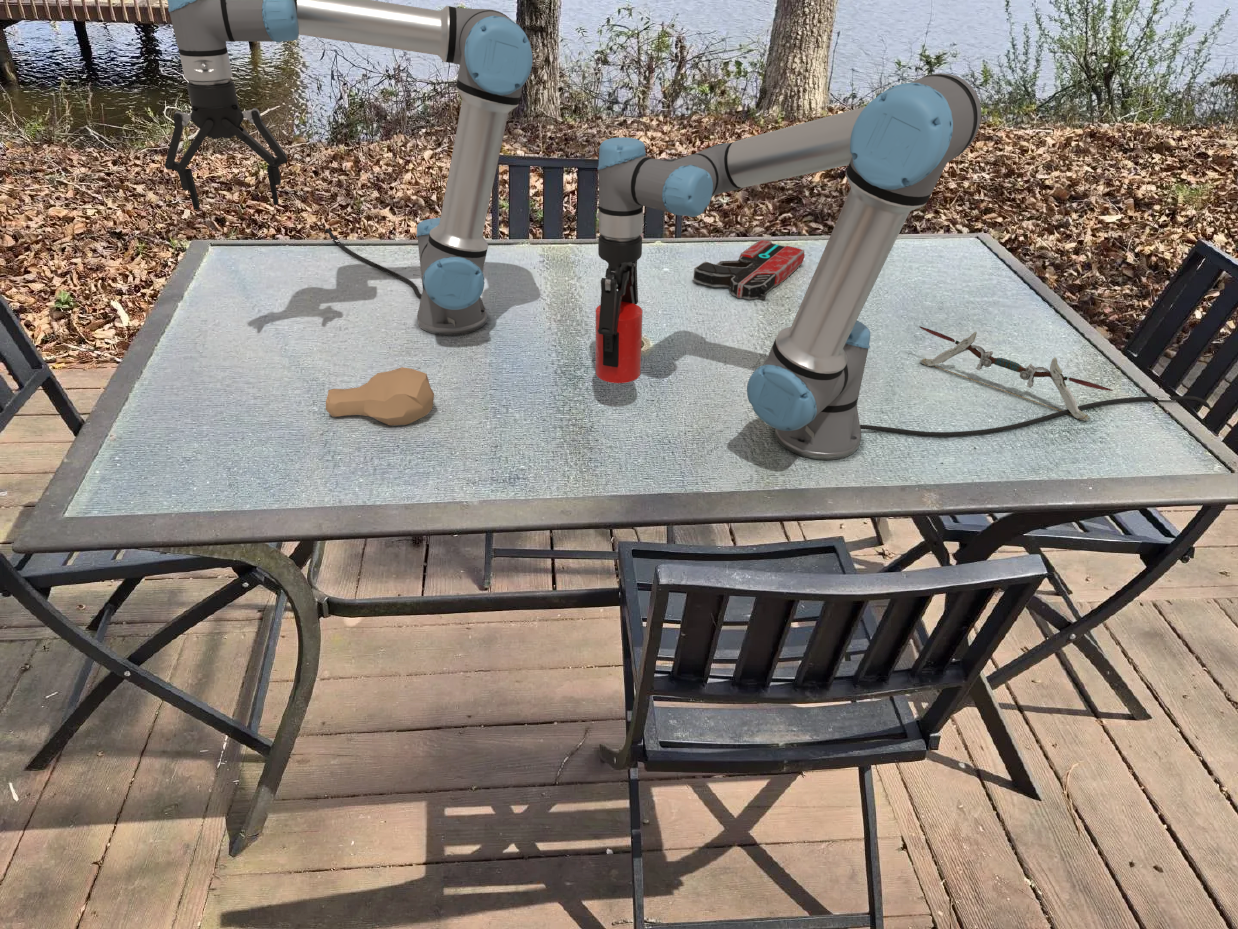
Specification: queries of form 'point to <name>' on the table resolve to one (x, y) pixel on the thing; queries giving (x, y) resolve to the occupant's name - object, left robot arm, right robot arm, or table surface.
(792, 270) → the gun
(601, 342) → the tin
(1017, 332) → the table surface
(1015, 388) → the table surface
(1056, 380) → the bow
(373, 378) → the squash
